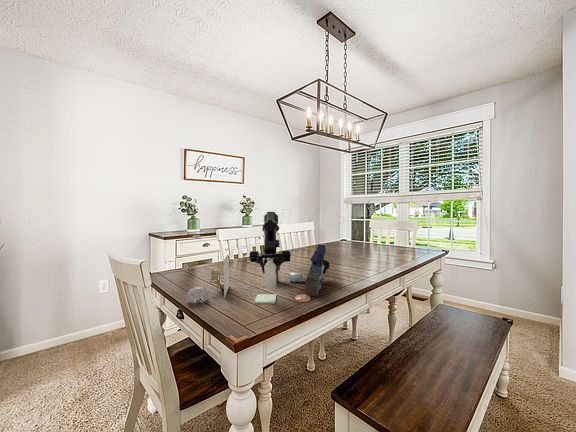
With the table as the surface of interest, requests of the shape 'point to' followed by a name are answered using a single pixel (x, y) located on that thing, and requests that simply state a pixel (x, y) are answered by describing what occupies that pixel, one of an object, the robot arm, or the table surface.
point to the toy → (316, 271)
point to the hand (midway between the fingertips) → (270, 272)
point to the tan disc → (302, 298)
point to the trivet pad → (265, 299)
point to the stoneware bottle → (270, 274)
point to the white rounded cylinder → (296, 277)
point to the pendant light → (197, 289)
